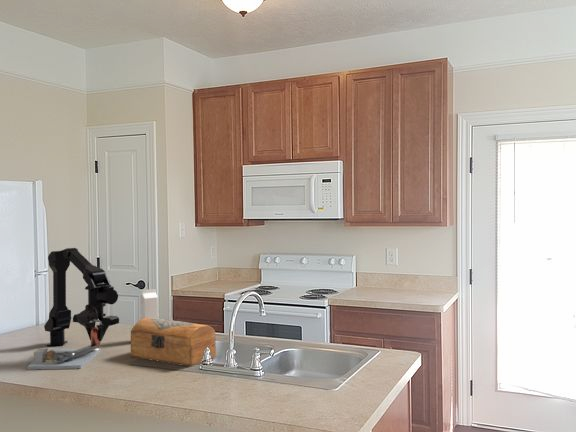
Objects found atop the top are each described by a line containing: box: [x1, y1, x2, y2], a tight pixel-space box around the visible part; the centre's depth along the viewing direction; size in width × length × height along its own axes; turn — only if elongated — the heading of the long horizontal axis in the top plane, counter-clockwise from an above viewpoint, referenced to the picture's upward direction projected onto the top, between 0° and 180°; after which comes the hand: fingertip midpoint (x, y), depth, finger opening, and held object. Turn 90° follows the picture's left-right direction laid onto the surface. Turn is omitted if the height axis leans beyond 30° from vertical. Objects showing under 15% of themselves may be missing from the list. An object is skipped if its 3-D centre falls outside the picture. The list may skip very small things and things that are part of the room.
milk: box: [139, 288, 159, 320], centre depth 242 cm, size 6×6×22 cm
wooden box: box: [130, 318, 217, 367], centre depth 214 cm, size 30×16×14 cm, turn 60°
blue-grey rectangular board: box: [26, 347, 101, 371], centre depth 212 cm, size 24×19×5 cm
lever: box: [54, 326, 102, 361], centre depth 213 cm, size 5×22×8 cm, turn 161°
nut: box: [46, 349, 56, 360], centre depth 207 cm, size 4×4×4 cm
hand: (95, 340), depth 221 cm, fingers open, 4 cm apart
